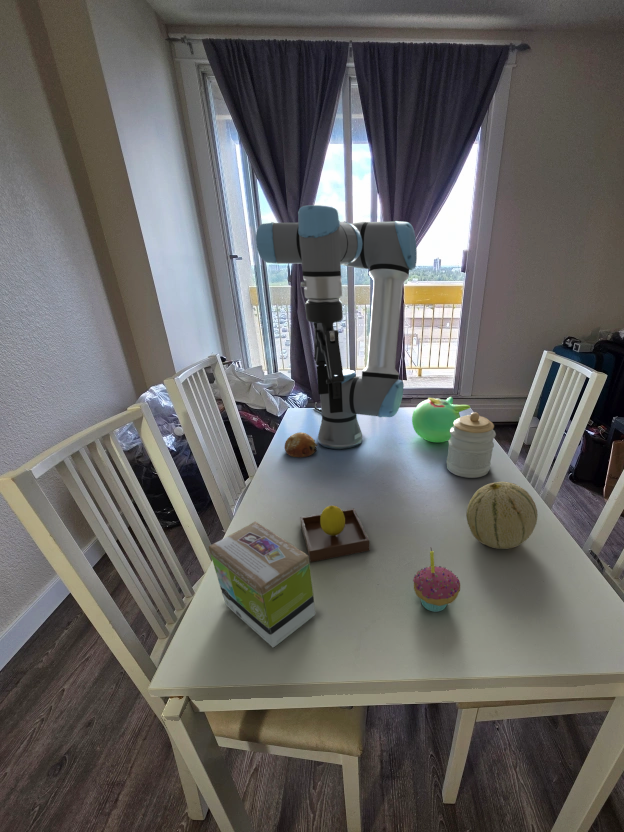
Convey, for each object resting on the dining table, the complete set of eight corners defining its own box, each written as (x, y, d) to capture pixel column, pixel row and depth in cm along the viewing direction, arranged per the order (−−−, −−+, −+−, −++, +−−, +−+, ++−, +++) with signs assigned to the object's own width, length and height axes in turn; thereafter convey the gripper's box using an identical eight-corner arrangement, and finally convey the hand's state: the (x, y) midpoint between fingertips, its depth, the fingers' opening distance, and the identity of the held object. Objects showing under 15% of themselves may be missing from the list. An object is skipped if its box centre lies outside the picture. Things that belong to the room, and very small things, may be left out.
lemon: (342, 544, 90) (340, 514, 86) (318, 541, 91) (315, 511, 87) (348, 529, 95) (347, 500, 91) (325, 526, 96) (323, 498, 92)
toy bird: (404, 432, 147) (406, 391, 139) (447, 427, 151) (451, 388, 143) (422, 452, 132) (425, 409, 125) (469, 446, 136) (475, 404, 128)
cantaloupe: (541, 559, 87) (558, 500, 79) (476, 566, 86) (486, 506, 78) (512, 520, 100) (524, 465, 92) (454, 525, 98) (461, 470, 90)
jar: (498, 473, 120) (509, 416, 111) (462, 482, 116) (470, 424, 106) (471, 455, 130) (479, 402, 121) (437, 463, 126) (442, 408, 116)
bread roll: (305, 453, 140) (295, 431, 138) (325, 447, 134) (315, 424, 132) (285, 464, 133) (274, 442, 131) (306, 459, 127) (295, 435, 124)
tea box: (223, 606, 76) (205, 544, 68) (267, 578, 82) (255, 518, 75) (273, 651, 68) (259, 585, 60) (317, 615, 74) (310, 552, 66)
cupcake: (402, 601, 77) (405, 552, 71) (431, 580, 82) (435, 532, 76) (439, 627, 72) (445, 577, 65) (466, 602, 77) (475, 553, 70)
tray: (301, 527, 97) (300, 517, 96) (354, 518, 101) (354, 508, 99) (310, 562, 87) (309, 551, 85) (369, 550, 90) (369, 539, 88)
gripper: (296, 294, 91) (305, 388, 103) (316, 308, 71) (324, 423, 82) (329, 293, 93) (334, 385, 104) (357, 306, 73) (360, 419, 84)
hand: (329, 402), depth 93 cm, fingers open, 13 cm apart
